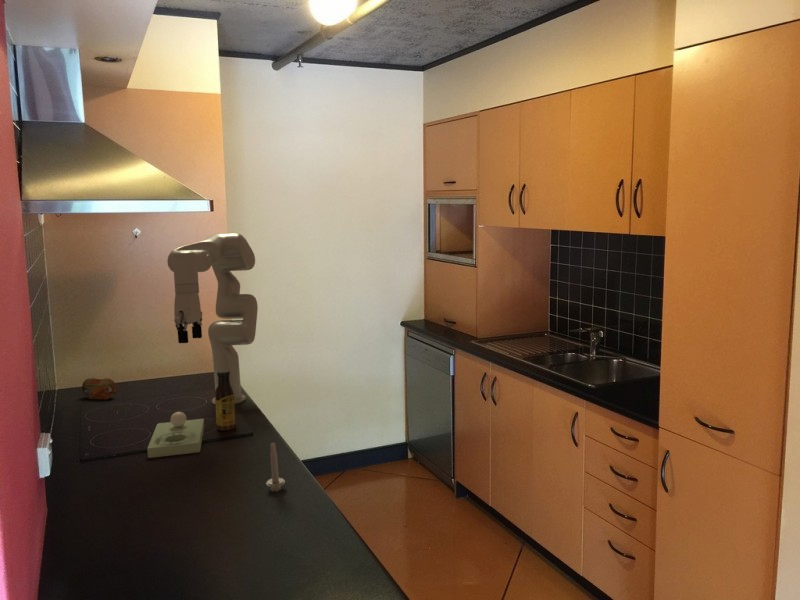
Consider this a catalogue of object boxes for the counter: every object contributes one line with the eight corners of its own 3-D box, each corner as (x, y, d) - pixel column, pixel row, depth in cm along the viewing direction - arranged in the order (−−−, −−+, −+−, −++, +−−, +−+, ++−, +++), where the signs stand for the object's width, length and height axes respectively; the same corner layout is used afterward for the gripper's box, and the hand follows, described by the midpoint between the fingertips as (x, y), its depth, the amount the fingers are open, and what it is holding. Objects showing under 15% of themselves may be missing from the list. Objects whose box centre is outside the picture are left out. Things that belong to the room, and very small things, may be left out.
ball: (172, 425, 217) (170, 410, 217) (187, 423, 218) (186, 409, 218) (170, 429, 213) (168, 415, 212) (186, 428, 214) (185, 413, 213)
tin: (82, 398, 265) (80, 378, 263) (88, 396, 268) (86, 376, 266) (113, 400, 260) (111, 379, 259) (118, 398, 263) (116, 377, 262)
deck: (158, 432, 220) (157, 423, 220) (204, 427, 223) (203, 418, 223) (148, 458, 197) (147, 448, 196) (199, 452, 200) (199, 442, 200)
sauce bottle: (224, 433, 217) (220, 374, 214) (213, 429, 220) (208, 372, 218) (240, 427, 222) (236, 370, 219) (228, 424, 226) (224, 368, 223)
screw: (268, 495, 168) (265, 487, 173) (287, 491, 170) (283, 484, 174) (264, 446, 166) (262, 440, 171) (283, 443, 168) (280, 437, 172)
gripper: (188, 287, 223) (192, 336, 225) (162, 291, 206) (166, 345, 208) (209, 286, 222) (212, 336, 224) (185, 291, 205) (188, 345, 207)
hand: (190, 340), depth 216 cm, fingers open, 9 cm apart
